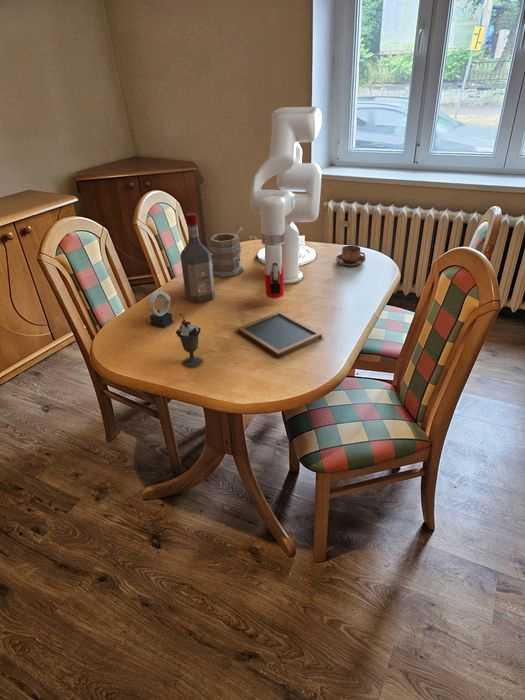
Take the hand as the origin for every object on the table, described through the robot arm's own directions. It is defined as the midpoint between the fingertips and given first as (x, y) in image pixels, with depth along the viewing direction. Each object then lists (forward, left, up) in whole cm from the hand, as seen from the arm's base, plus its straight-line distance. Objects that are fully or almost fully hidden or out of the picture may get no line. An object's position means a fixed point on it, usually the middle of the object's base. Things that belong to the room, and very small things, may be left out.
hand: (274, 288), depth 155 cm
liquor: (-26, -12, -7) cm, 29 cm away
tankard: (-37, +15, -7) cm, 41 cm away
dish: (-28, +39, -7) cm, 48 cm away
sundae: (+5, -42, -7) cm, 43 cm away
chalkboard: (+14, -15, -6) cm, 22 cm away
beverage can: (0, 0, -3) cm, 3 cm away
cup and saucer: (-2, +49, -7) cm, 50 cm away
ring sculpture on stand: (-21, -33, -7) cm, 39 cm away
